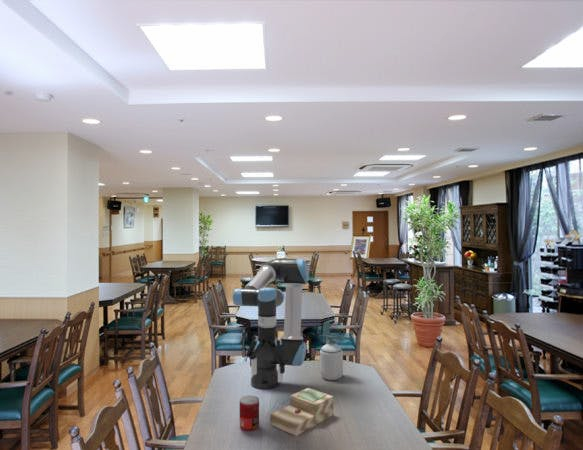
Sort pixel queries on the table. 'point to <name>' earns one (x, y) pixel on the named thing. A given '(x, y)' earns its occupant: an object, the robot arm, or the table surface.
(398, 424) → the table surface
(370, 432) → the table surface
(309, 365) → the table surface
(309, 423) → the stand
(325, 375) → the soap bottle
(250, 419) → the canned food
